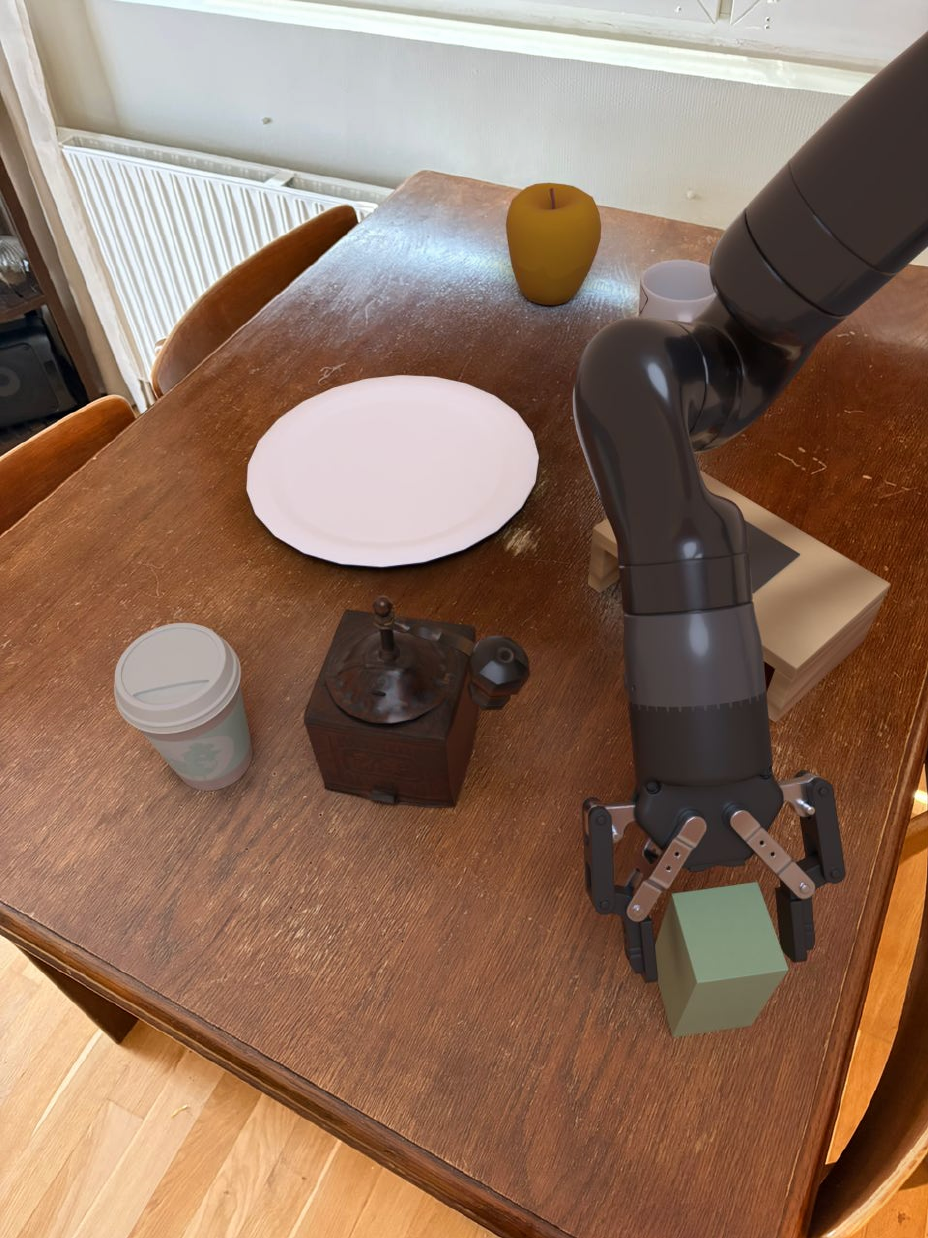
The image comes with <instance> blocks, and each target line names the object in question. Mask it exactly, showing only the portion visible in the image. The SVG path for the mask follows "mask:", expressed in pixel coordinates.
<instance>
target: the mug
mask: <svg viewBox="0 0 928 1238" xmlns="http://www.w3.org/2000/svg"><path fill="white" fill-rule="evenodd" d="M709 266H710V265H708V264H705V263H702V262H698V261H695V260H690V259H669V260H664V261H660V262H657V263H656V262H655V263H654V264H652V265H650V266H648V267H647V268H646V269H645V270H644V271H643V273H642V274H641V276H640V280H639V294H638V295H639V296H638V297H639V299H638V317H646V318H656V319H663V320H671V321H682V322H691V321H692V320H694V319H695V318H696V317H698V316H699V315H700V314H701V313H702V312H703V311H704V310H705V309H706V308H707V307H708V306H709V305H710V304H711V302H712V301H713V300H714V298H715V297H716V293H715V291H714V289H713V286H712V283H711V278H710V272H709Z"/></svg>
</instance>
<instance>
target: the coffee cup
mask: <svg viewBox="0 0 928 1238" xmlns="http://www.w3.org/2000/svg"><path fill="white" fill-rule="evenodd" d="M241 677H242V667H241V662H240V659H239V657H238V655H237V654H236V652H235V651H234V648H232V646H231V645H230V644H229V642H228V641H226V640H225V638H223V637H221V636H219V635H218V634H217V633H216V632H215V631H213V630H212V629H211V628H208V627H206V626H204V625H201V624H199V623H198V624H197V623H192V622H174V623H169V624H164V625H161V626H159V627H156V628H153V629H151V630H149V631H147V632H145V633H143V634H142V635H140V636H139V637H138V638H136V639H135V640H133V642H132V643H130V644H129V645H128V646H127V647H126V649H125V650H124V651H123V652H122V654H121V656H120V657H119V660H118V661H117V664H116V666H115V671H114V683H113V695H114V700H115V703H116V704H115V705H116V707H117V710H118V712H119V713H120V715H121V717H122V718H123V719H124V721H126V722H127V723H128V724H130V726H132V727H134V728H136V729H138V730H139V731H140V733H141V734H142V735H143V736H144V737H145V739H146V740H147V741H148V742H149V743H150V744H151V746H152V747H153V748H154V749H155V750H156V751H157V752H158V754H159V755H160V757H162V759H164V761H165V762H166V763H167V764H168V765H169V767H170V768H171V769H172V770H173V772H174V773H176V775H177V776H178V777H179V778H180V779H181V781H182V782H183V783H184V784H186V785H187V787H188V786H189V787H190V788H191V789H194V790H197V791H202V792H213V791H217V790H221V789H224V788H227V787H229V786H231V785H233V784H234V783H236V782H237V781H238V780H239V779H241V778H242V777H243V775H244V774H245V773H246V772H247V771H248V769H249V767H250V765H251V763H252V760H253V755H254V752H253V751H254V750H253V744H252V738H251V734H250V729H249V723H248V718H247V714H246V708H245V704H244V698H243V694H242V689H241V684H240V683H241Z"/></svg>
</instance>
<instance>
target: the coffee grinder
mask: <svg viewBox="0 0 928 1238" xmlns="http://www.w3.org/2000/svg"><path fill="white" fill-rule="evenodd" d="M371 606H372V608H373V611H374V612H370V611H363V610H357V609H349V608H345V610H344V612H343V613H342V616H341V618H340V620H339V623H338V625H337V627H336V630H335V632H334V634H333V635H334V636H333V637H332V641H331V643H330V645H329V648H328V651H327V653H326V656H325V658H324V661H323V663H322V666H321V668H320V671H319V673H318V676H317V679H316V681H315V683H314V686H313V687H312V688H313V689H312V691H311V693H310V694H311V695H310V697H309V699H308V702H307V705H306V708H305V710H304V714H303V723H304V726H305V728H306V732H307V734H308V738H309V741H310V745H311V748H312V751H313V755H314V757H315V760H316V763H317V766H318V769H319V772H320V774H321V777H322V780H323V784H324V785H323V787H324V790H327V791H332V792H335V793H340V794H345V795H349V796H354V797H357V798H361V799H365V800H370V801H371V802H373V803H377V804H381V805H390V806H391V805H392V806H397V805H405V806H415V807H423V808H455V807H456V805H457V802H458V799H459V795H460V793H461V790H462V788H463V784H464V782H465V779H466V774H467V770H468V766H469V762H470V759H471V754H472V750H473V745H474V741H475V737H476V732H477V727H478V726H477V725H478V718H479V717H478V715H479V708H480V709H481V711H485V712H486V711H502V710H503V709H504V708H505V706H507V704H508V703H509V702H510V700H511V699H512V698H511V696H517V695H518V694H519V693H520V691H521V690H522V688H523V687H524V686H525V684H526V683H527V682H528V680H529V678H530V676H531V669H530V658H529V657H528V654H527V652H526V650H524V648H523V646H522V645H521V644H519V643H518V642H516V641H515V640H514V639H512V638H511V637H508V636H504V635H500V634H499V635H488V636H487V637H484V638H483V639H480V640H479V641H478V642H477V633H476V632H477V631H476V626H475V625H469V624H462V623H461V624H460V623H453V622H446V621H439V620H438V621H437V620H431V619H423V618H415V617H407V616H400V615H396V614H395V612H394V611H395V610H393V607H394V604H393V602H392V600H391V599H390V598H389V597H388V596H387V595H379V596H377V597H376V598H375V600H373V601H372V604H371Z"/></svg>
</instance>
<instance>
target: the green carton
mask: <svg viewBox="0 0 928 1238" xmlns="http://www.w3.org/2000/svg"><path fill="white" fill-rule="evenodd" d="M778 938H779V937H778V935H777V933H776V929H775V927H774V924H773V922H772V918H771V916H770V913H769V910H768V907H767V904H766V902H765V899H764V896H763V893H762V890H761V888H760V885H759V882H758V881H753V882H746V883H738V884H731V885H724V886H723V885H722V886H717V887H716V886H715V887H710V888H704V889H695V890H689V891H688V890H687V891H681V892H674V893H671V895H670V899H669V901H668V904H667V907H666V911H665V914H664V916H663V919H662V922H661V926H660V929H659V932H658V935H657V938H656V941H655V951H656V961H657V971H658V981H657V982H656V983H657V985H658V989H659V993H660V997H661V1001H662V1005H663V1009H664V1012H665V1016H666V1020H667V1024H668V1028H669V1031H670V1035H671V1038H679V1037H687V1036H693V1035H699V1034H707V1033H714V1032H719V1031H727V1030H734V1029H740V1028H748V1027H751V1026H752V1025H753V1024H754V1022H755V1021H756V1019H757V1018H758V1016H759V1015H760V1014H761V1012H762V1010H763V1009H764V1008H765V1006H766V1004H767V1003H768V1002H769V1000H770V998H771V997H772V995H773V994H774V992H776V989H778V987H779V985H780V984H781V982H782V981H783V979H784V978H785V976H786V975H787V973H788V972H789V971H790V970H789V969H790V968H789V966H788V964H787V961H786V958H785V955H784V952H783V951H782V949H781V946H780V941H779V939H778Z"/></svg>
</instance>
